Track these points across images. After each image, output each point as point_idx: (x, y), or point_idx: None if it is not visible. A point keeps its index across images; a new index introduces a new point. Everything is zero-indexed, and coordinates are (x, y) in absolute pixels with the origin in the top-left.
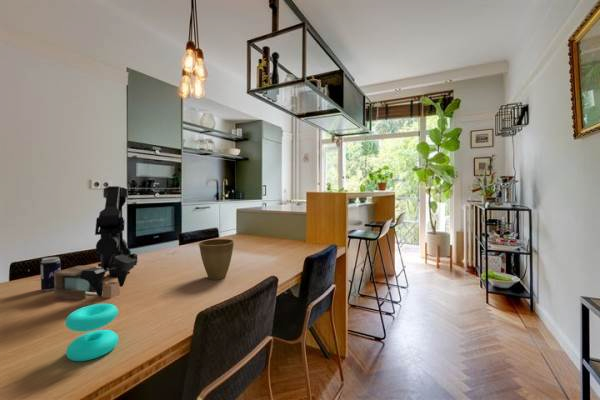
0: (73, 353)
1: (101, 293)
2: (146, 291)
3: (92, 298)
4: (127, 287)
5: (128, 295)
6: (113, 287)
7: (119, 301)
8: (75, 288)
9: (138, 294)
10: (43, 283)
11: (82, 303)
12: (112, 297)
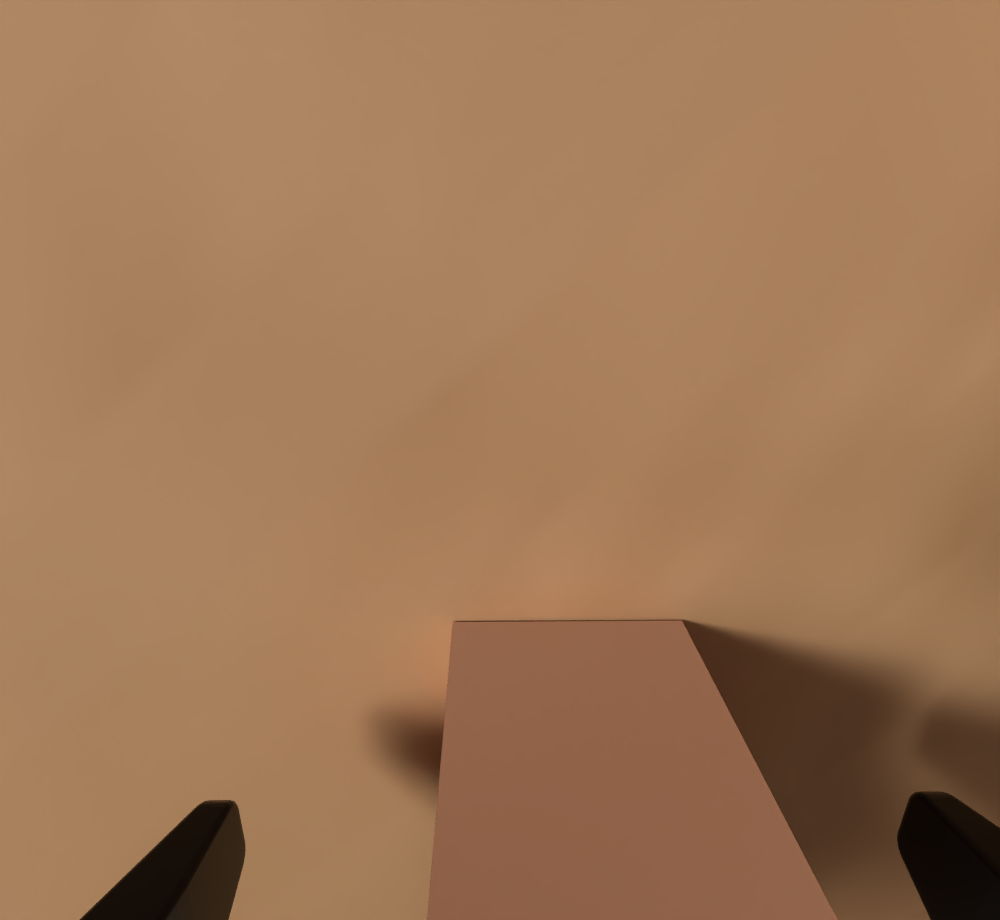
0: None
1: (989, 840)
2: (11, 22)
3: None
4: (35, 762)
5: (457, 366)
6: (698, 844)
7: (875, 282)
8: None
9: (319, 111)
10: None
11: None
12: (656, 623)
